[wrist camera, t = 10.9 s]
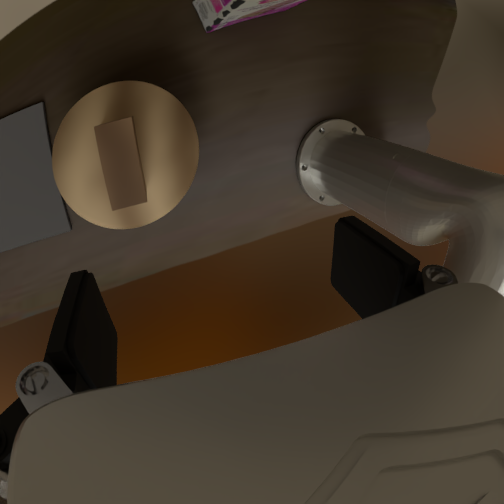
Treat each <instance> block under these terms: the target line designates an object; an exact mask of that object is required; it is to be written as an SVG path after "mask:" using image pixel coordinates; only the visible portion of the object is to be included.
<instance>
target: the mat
mask: <svg viewBox="0 0 504 504" xmlns="http://www.w3.org/2000/svg"><path fill="white" fill-rule="evenodd" d="M71 230H72V227H71V224H70V221H69V217H68V214H67V211H66V207H65V204H64V200H63V197H62V195H61V194H60V191H59V189H58V187H57V185H56V182H55V178H54V174H53V168H52V149H51V144H50V139H49V133H48V127H47V121H46V114H45V106H44V102H41V103H38V104H36V105H33V106H31V107H28V108H26V109H23V110H21V111H19V112H16V113H14V114H12V115H9V116H7V117H5V118H3V119H1V120H0V253H1V252H4V251H7V250H10V249H13V248H16V247H19V246H22V245H25V244H28V243H31V242H35V241H38V240H41V239H44V238H48V237H51V236H54V235H58V234H61V233H65V232H68V231H71Z"/></svg>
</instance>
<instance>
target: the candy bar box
mask: <svg viewBox="0 0 504 504" xmlns="http://www.w3.org/2000/svg"><path fill="white" fill-rule="evenodd" d="M305 1H307V0H194V1H193V2H192V3H193V5H194V7H195V9H196V11H197V13H198V15H199V17H200V20H201V22H202V24H203V26H204V28H205V30H206V32H207V33H208V32H211V31H214V30H217V29H220V28H223V27H226V26H229V25H232V24H235V23H238V22H242V21H245V20H249V19H252V18H256V17H260V16H264V15H268V14H272V13H276V12H280V11H285V10H288V9H290V8H292V7H294V6H296V5H298V4H301V3H303V2H305Z"/></svg>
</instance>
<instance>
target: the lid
mask: <svg viewBox="0 0 504 504" xmlns="http://www.w3.org/2000/svg"><path fill="white" fill-rule="evenodd" d="M198 160H199V141H198V136H197V131H196V128H195V125H194V122H193V120H192V118H191V116H190V114H189V113H188V111H187V110H186V108H185V107H184V106H183V105H182V103H181V102H180V101H179V100H178V99H177V98H175V97H174V96H173V95H172V94H170V93H169V92H167V91H166V90H164V89H162V88H160V87H158V86H155V85H153V84H150V83H146V82H141V81H120V82H114V83H110V84H107V85H104V86H101V87H99V88H97V89H95V90H93V91H91V92H90V93H88V94H87V95H85V96H84V97H83V98H81V99H80V100H79V101H78V102H77V103H76V104H75V105H74V106H73V107H72V108H71V109H70V110H69V112H68V113H67V115H66V116H65V118H64V119H63V121H62V123H61V125H60V127H59V129H58V131H57V134H56V137H55V140H54V145H53V152H52V168H53V174H54V178H55V182H56V185H57V187H58V189H59V191H60V194H61V195H62V197H63V198H64V200H65V201H66V203H67V204H68V205H69V206H70V207H71V209H72V210H73V211H75V212H76V213H77V214H78V215H79V216H81V217H82V218H84V219H85V220H87V221H89V222H91V223H93V224H96V225H99V226H102V227H106V228H111V229H131V228H136V227H140V226H143V225H147V224H149V223H151V222H154V221H156V220H158V219H159V218H161V217H163V216H164V215H166V214H167V213H168V212H169V211H171V210H172V209H173V208H174V207H175V206H176V205H177V204H178V203H179V202H180V201H181V199H182V198H183V197H184V195H185V194H186V192H187V191H188V189H189V187H190V185H191V183H192V181H193V179H194V176H195V173H196V170H197V165H198Z"/></svg>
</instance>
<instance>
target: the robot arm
mask: <svg viewBox="0 0 504 504" xmlns="http://www.w3.org/2000/svg"><path fill="white" fill-rule="evenodd" d="M319 129H320V131H319ZM302 166H303V167H302ZM296 171H297V177H298V180H299V183H300V185H301V187H302V189H303V190H304V192H305V193H306V194H307V195H308V196H309V197H310V198H312V199H313V200H315V201H317V202H318V203H320V204H324V205H338V204H344V205H346V206H348V207H349V208H351V209H353V210H355V211H356V212H358V213H360V214H361V215H363V216H365V217H366V218H368V219H370V220H371V221H373V222H375V223H376V224H378V225H379V226H381V227H383V228H384V229H386V230H387V231H389V232H391V233H392V234H394V235H396V236H397V237H399V238H401V239H402V240H404V241H406V242H408V243H410V244H413V245H419V246H426V245H433V244H436V243H440V242H443V241H446V240H448V239H449V248H448V251H447V255H446V258H445V262H444V265H443V266H439V265H427V266H425V267H424V268H423V269H422V272H420V271H419V270H418V269H419V265H420V261H419V260H417V259H416V258H415V257H413V256H412V255H411V254H409V253H408V252H406V251H405V250H404V249H402V248H400V247H399V246H398V245H396V244H395V243H393V242H392V241H391V240H389V239H388V238H386V237H385V236H383V235H382V234H380V233H379V232H377V231H376V230H374V229H373V228H371V227H370V226H368V225H367V224H365V223H364V222H362V221H361V220H359V219H358V218H356V217H355V216H348V217H343V218H340V219H339V220H338V222H337V223H336V224H335V232H334V246H333V258H332V269H331V283H332V286H333V287H334V288H335V289H336V290H337V291H338V293H339V294H340V295H341V296H342V297H343V298H344V299H345V300H346V301H347V302H348V303H349V304H350V306H351V307H352V308H353V309H354V310H355V311H356V312H357V313H358V314H359V315H360V317H361V318H362V320H359V321H356V322H354V323H351V324H348V325H345V326H342V327H340V328H337V329H334V330H331V331H328V332H325V333H322V334H319V335H316V336H314V337H310V338H307V339H304V340H301V341H298V342H295V343H292V344H288V345H285V346H282V347H278V348H275V349H272V350H268V351H265V352H261V353H258V354H255V355H251V356H247V357H244V358H240V359H236V360H232V361H228V362H225V363H220V364H217V365H213V366H208V367H204V368H200V369H195V370H191V371H186V372H182V373H177V374H173V375H168V376H163V377H158V378H153V379H147V380H142V381H136V382H130V383H125V384H120V385H117V383H116V382H117V377H116V376H117V371H116V370H117V332H116V329H115V327H114V325H113V322H112V320H111V318H110V315H109V313H108V311H107V308H106V306H105V303H104V301H103V298H102V296H101V293H100V291H99V288H98V286H97V283H96V280H95V278H94V275H93V274H92V273H88V272H87V270H82V271H78V272H73V273H71V275H70V277H69V280H68V283H67V286H66V288H65V291H64V294H63V297H62V300H61V303H60V306H59V309H58V312H57V315H56V317H55V321H54V324H53V328H52V331H51V334H50V338H49V342H48V345H47V349H46V353H45V357H44V361H43V362H36V363H33V364H30V365H29V366H27V367H26V368H25V369H24V370H23V371H22V372H21V373H20V375H19V376H18V378H17V381H16V391H17V393H18V396H19V398H18V399H17V400H16V401H15V402H13V404H11V405H10V406H9V407H8V408H7V409H6V410H5V411H4V412H3V413H2V414H1V415H0V504H504V175H500V174H496V173H492V172H488V171H484V170H480V169H476V168H472V167H468V166H465V165H462V164H458V163H456V162H452V161H449V160H446V159H443V158H440V157H437V156H433V155H431V154H428V153H425V152H421V151H418V150H415V149H412V148H409V147H405V146H402V145H398V144H395V143H391V142H388V141H384V140H380V139H376V138H372V137H368V136H365V134H364V133H363V131H362V130H361V129H360V128H359V127H358V126H357V125H355V124H353V123H352V122H349V121H346V120H342V119H329V120H325V121H323V122H321V123H319V124H317V125H316V126H314V127H313V128H312V129H311V130H310V131H309V132H308V133H307V134H306V136H305V137H304V139H303V141H302V142H301V145H300V147H299V150H298V154H297V159H296Z"/></svg>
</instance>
